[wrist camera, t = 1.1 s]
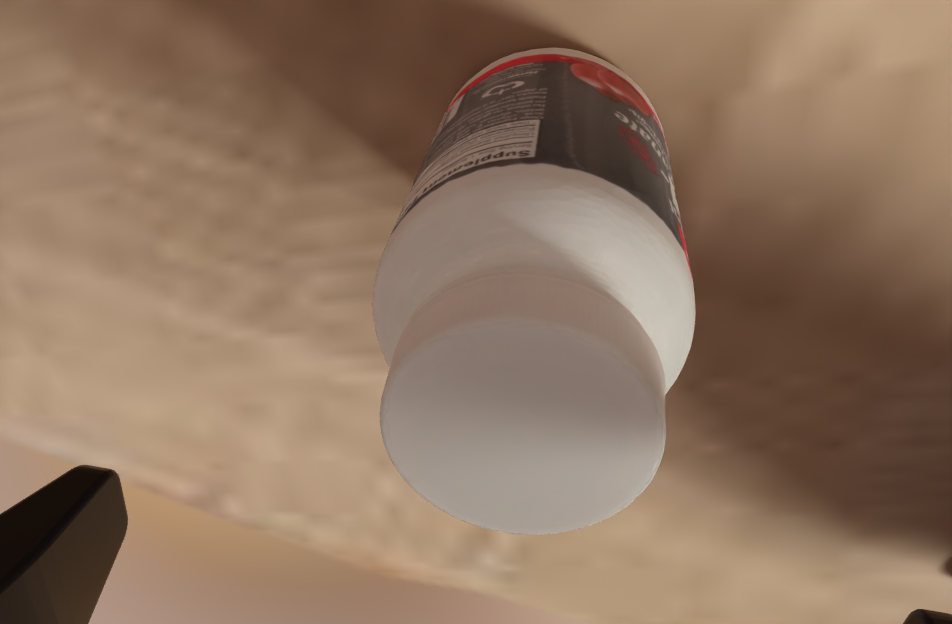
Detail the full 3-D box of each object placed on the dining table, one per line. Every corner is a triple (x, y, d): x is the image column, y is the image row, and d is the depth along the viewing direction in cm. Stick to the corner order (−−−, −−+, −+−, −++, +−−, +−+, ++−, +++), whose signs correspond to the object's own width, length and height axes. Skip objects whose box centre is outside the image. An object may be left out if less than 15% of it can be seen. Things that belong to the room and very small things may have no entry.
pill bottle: (709, 185, 19) (792, 495, 11) (522, 288, 21) (478, 608, 13) (583, -12, 17) (573, 195, 9) (392, 126, 19) (245, 391, 11)
